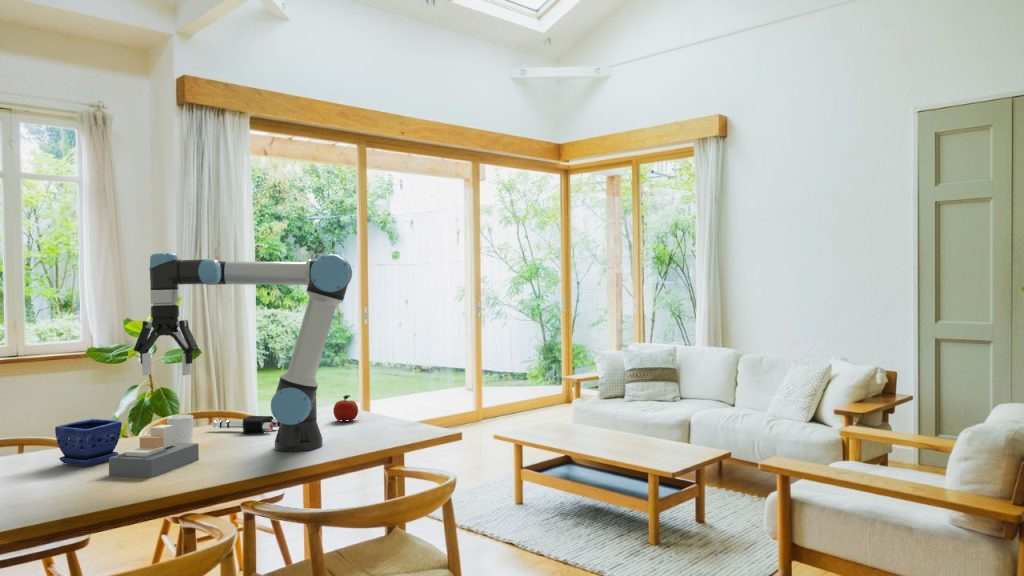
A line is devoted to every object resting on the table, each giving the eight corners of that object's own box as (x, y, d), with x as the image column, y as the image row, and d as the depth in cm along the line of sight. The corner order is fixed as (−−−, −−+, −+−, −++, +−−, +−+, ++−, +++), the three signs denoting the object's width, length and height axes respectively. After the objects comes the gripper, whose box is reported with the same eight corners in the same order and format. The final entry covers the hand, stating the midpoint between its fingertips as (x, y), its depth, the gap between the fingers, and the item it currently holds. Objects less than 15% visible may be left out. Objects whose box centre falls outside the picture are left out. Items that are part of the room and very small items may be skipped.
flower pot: (124, 458, 215) (124, 420, 215) (85, 469, 203) (85, 428, 203) (92, 455, 219) (92, 418, 219) (53, 466, 207) (52, 426, 207)
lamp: (268, 420, 247) (202, 419, 250) (268, 435, 247) (202, 434, 250) (281, 414, 258) (218, 414, 261) (281, 428, 258) (218, 428, 261)
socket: (198, 459, 212) (198, 440, 212) (151, 477, 193) (151, 456, 193) (159, 457, 215) (158, 439, 215) (109, 475, 196) (108, 454, 195)
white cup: (183, 449, 226) (182, 419, 226) (162, 448, 227) (161, 418, 227) (198, 444, 234) (198, 414, 234) (178, 443, 235) (177, 414, 235)
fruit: (329, 423, 267) (328, 397, 267) (339, 418, 276) (339, 393, 276) (352, 423, 265) (352, 397, 265) (361, 418, 275) (361, 393, 275)
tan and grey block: (163, 450, 202) (163, 436, 202) (146, 456, 196) (146, 442, 196) (143, 450, 204) (143, 435, 204) (125, 455, 197) (125, 441, 197)
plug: (164, 465, 204) (163, 428, 204) (151, 464, 205) (150, 427, 205) (174, 461, 208) (173, 425, 208) (161, 460, 209) (161, 424, 209)
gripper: (209, 303, 209) (211, 373, 209) (137, 304, 214) (139, 373, 214) (193, 304, 202) (195, 376, 202) (119, 305, 207) (121, 376, 207)
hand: (166, 374), depth 208 cm, fingers open, 13 cm apart
